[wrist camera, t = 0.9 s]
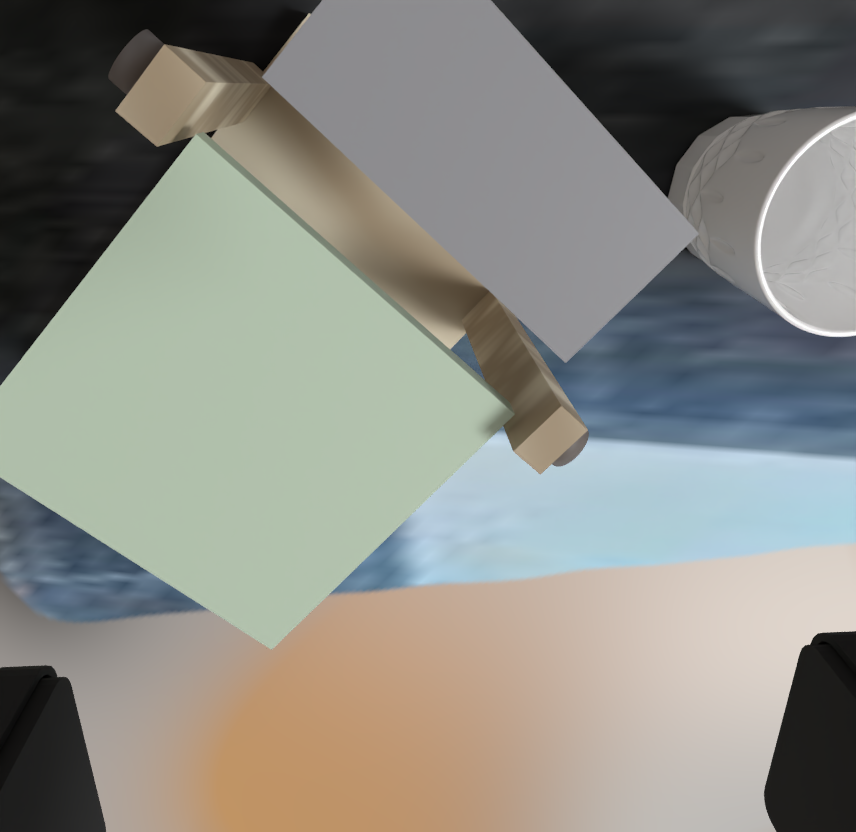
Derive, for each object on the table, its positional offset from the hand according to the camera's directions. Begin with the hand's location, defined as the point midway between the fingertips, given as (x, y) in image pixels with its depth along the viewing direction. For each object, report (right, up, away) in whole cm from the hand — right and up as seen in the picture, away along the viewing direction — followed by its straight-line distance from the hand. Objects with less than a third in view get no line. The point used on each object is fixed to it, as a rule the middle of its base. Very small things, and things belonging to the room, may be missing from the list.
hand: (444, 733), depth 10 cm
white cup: (+14, +15, +26) cm, 33 cm away
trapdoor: (-4, +8, +16) cm, 18 cm away
